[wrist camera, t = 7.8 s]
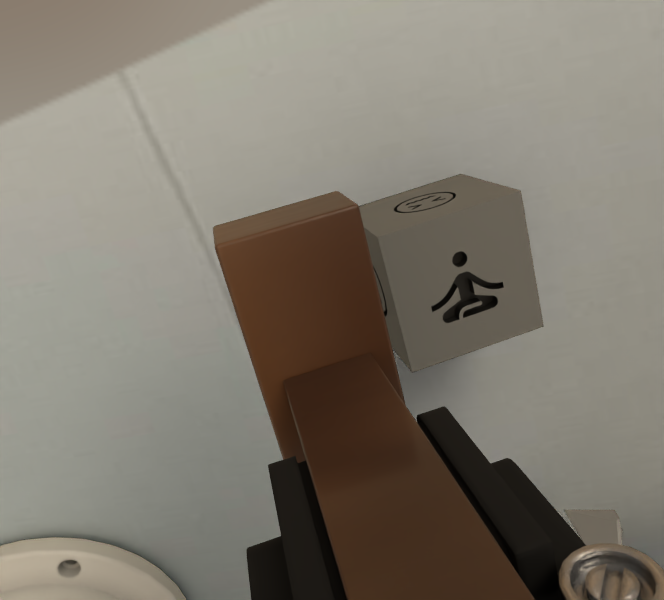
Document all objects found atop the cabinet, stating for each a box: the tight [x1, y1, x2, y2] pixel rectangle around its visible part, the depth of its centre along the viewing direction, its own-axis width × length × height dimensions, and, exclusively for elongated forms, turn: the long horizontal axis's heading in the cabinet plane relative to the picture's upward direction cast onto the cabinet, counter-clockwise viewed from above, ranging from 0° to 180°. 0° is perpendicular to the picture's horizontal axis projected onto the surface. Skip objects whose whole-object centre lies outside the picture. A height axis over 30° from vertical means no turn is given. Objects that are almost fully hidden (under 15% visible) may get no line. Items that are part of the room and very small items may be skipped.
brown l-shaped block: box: [213, 191, 535, 600], centre depth 12 cm, size 3×10×11 cm, turn 14°
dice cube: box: [359, 174, 543, 373], centre depth 24 cm, size 5×5×5 cm
